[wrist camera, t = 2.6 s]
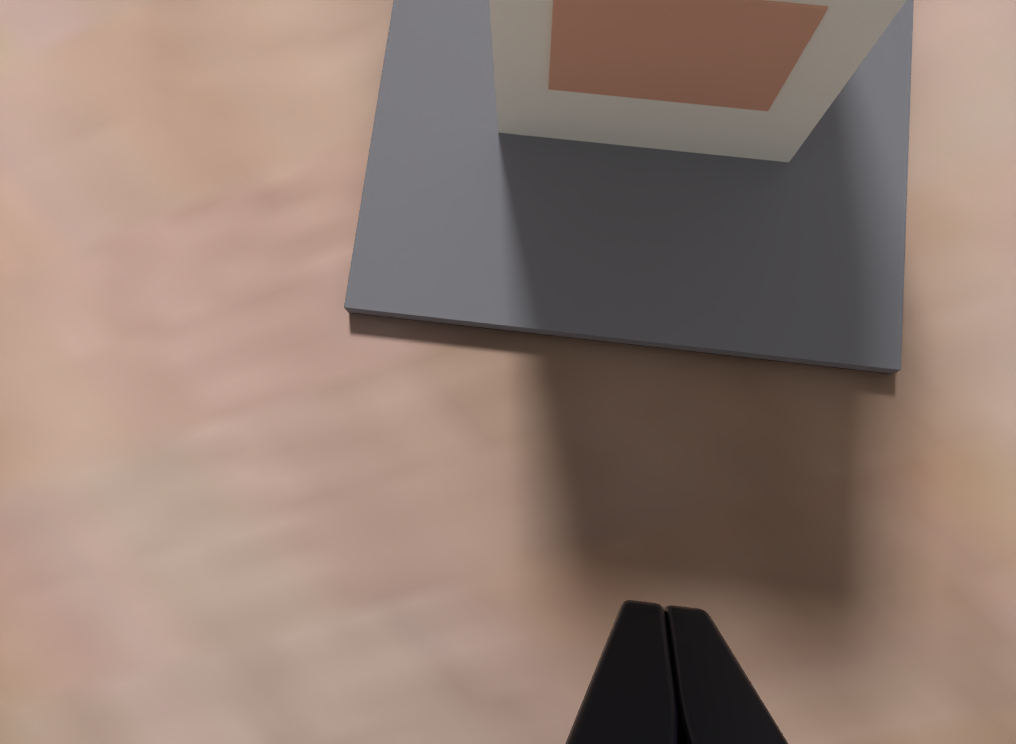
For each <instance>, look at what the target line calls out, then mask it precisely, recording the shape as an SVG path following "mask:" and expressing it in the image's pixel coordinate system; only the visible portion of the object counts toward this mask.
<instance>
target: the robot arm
mask: <svg viewBox="0 0 1016 744" xmlns="http://www.w3.org/2000/svg"><path fill="white" fill-rule="evenodd" d="M566 744H788V742H787V741H786V739H785V738H784V736H783V734H782V733H781V731H780V729H779V728H778V726H777V725H776V723H775V721H774V720H773V718H772V716H771V715H770V713H769V712H768V710H767V708H766V707H765V705H764V703H763V702H762V700H761V699H760V697H759V695H758V694H757V692H756V690H755V689H754V687H753V685H752V684H751V682H750V681H749V679H748V677H747V676H746V674H745V672H744V671H743V669H742V668H741V666H740V664H739V663H738V661H737V659H736V658H735V656H734V655H733V653H732V651H731V650H730V648H729V646H728V645H727V643H726V641H725V640H724V638H723V637H722V635H721V633H720V632H719V630H718V628H717V627H716V625H715V624H714V622H713V620H712V619H711V617H710V616H709V614H708V613H706V612H705V611H704V610H701V609H697V608H689V607H681V606H673V605H672V606H668V607H666V608H665V609H663V607H662V606H661V605H659V604H656V603H649V602H641V601H633V600H627V601H625V602H624V603H623V604H622V605H621V608H620V610H619V612H618V615H617V617H616V620H615V622H614V625H613V627H612V630H611V632H610V635H609V637H608V639H607V642H606V644H605V647H604V649H603V652H602V654H601V657H600V659H599V662H598V664H597V667H596V669H595V672H594V674H593V677H592V679H591V682H590V684H589V687H588V689H587V691H586V694H585V696H584V699H583V701H582V704H581V706H580V709H579V711H578V714H577V716H576V719H575V721H574V724H573V726H572V729H571V731H570V734H569V736H568V739H567V741H566Z"/></svg>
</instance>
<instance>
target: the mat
mask: <svg viewBox="0 0 1016 744" xmlns="http://www.w3.org/2000/svg"><path fill="white" fill-rule="evenodd" d="M913 1H914V0H906V1H905V3H904V4H903V6H902V7H901V8H900V10H899V11H898V13H897V14H896V15H895V17H894V18H893V19H892V21H891V22H890V24H889V25H888V26H887V28H886V29H885V30H884V32H883V33H882V35H881V36H880V37H879V39H878V40H877V42H876V43H875V44H874V46H873V47H872V48H871V50H870V51H869V53H868V54H867V55H866V57H865V58H864V60H863V61H862V62H861V64H860V65H859V66H858V68H857V69H856V71H855V72H854V73H853V75H852V76H851V77H850V79H849V80H848V82H847V83H846V84H845V86H844V87H843V89H842V90H841V91H840V93H839V94H838V95H837V97H836V98H835V100H834V101H833V102H832V104H831V105H830V107H829V108H828V109H827V111H826V112H825V113H824V115H823V116H822V118H821V119H820V120H819V122H818V123H817V125H816V126H815V127H814V129H813V130H812V131H811V133H810V134H809V136H808V137H807V138H806V140H805V141H804V142H803V144H802V145H801V147H800V148H799V149H798V151H797V152H796V154H795V155H794V156H793V158H792V159H791V160H790V162H780V161H770V160H760V159H751V158H741V157H731V156H721V155H712V154H702V153H692V152H682V151H673V150H663V149H653V148H643V147H634V146H624V145H614V144H604V143H595V142H585V141H575V140H565V139H556V138H546V137H536V136H526V135H517V134H507V133H498V123H497V109H496V94H495V80H494V65H493V51H492V36H491V22H490V7H489V0H394V2H393V8H392V14H391V21H390V27H389V33H388V39H387V45H386V51H385V58H384V64H383V70H382V76H381V82H380V88H379V95H378V101H377V107H376V113H375V119H374V126H373V132H372V138H371V144H370V150H369V156H368V163H367V169H366V175H365V181H364V187H363V193H362V200H361V206H360V212H359V218H358V224H357V230H356V237H355V243H354V249H353V255H352V261H351V268H350V274H349V280H348V286H347V292H346V298H345V305H344V308H345V309H346V310H347V311H348V312H350V313H359V314H368V315H377V316H386V317H394V318H403V319H412V320H421V321H430V322H439V323H448V324H457V325H465V326H474V327H483V328H492V329H501V330H510V331H519V332H528V333H536V334H545V335H554V336H563V337H572V338H581V339H590V340H599V341H607V342H616V343H625V344H634V345H643V346H652V347H661V348H670V349H678V350H687V351H696V352H705V353H714V354H723V355H732V356H741V357H749V358H758V359H767V360H776V361H785V362H794V363H803V364H811V365H820V366H829V367H838V368H847V369H856V370H865V371H874V372H882V373H891V374H892V373H894V372H897V371H899V370H901V348H902V320H903V291H904V262H905V233H906V204H907V175H908V146H909V117H910V88H911V59H912V30H913Z"/></svg>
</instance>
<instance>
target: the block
mask: <svg viewBox="0 0 1016 744" xmlns="http://www.w3.org/2000/svg"><path fill="white" fill-rule="evenodd" d="M905 1H906V0H489V7H490V22H491V36H492V51H493V65H494V80H495V94H496V109H497V123H498V133H507V134H517V135H526V136H536V137H546V138H556V139H565V140H575V141H585V142H595V143H604V144H614V145H624V146H634V147H643V148H653V149H663V150H673V151H682V152H692V153H702V154H712V155H721V156H731V157H741V158H751V159H760V160H770V161H780V162H790V160H791V159H792V158H793V156H794V155H795V154H796V152H797V151H798V149H799V148H800V147H801V145H802V144H803V142H804V141H805V140H806V138H807V137H808V136H809V134H810V133H811V131H812V130H813V129H814V127H815V126H816V125H817V123H818V122H819V120H820V119H821V118H822V116H823V115H824V113H825V112H826V111H827V109H828V108H829V107H830V105H831V104H832V102H833V101H834V100H835V98H836V97H837V95H838V94H839V93H840V91H841V90H842V89H843V87H844V86H845V84H846V83H847V82H848V80H849V79H850V77H851V76H852V75H853V73H854V72H855V71H856V69H857V68H858V66H859V65H860V64H861V62H862V61H863V60H864V58H865V57H866V55H867V54H868V53H869V51H870V50H871V48H872V47H873V46H874V44H875V43H876V42H877V40H878V39H879V37H880V36H881V35H882V33H883V32H884V30H885V29H886V28H887V26H888V25H889V24H890V22H891V21H892V19H893V18H894V17H895V15H896V14H897V13H898V11H899V10H900V8H901V7H902V6H903V4H904V3H905Z"/></svg>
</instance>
